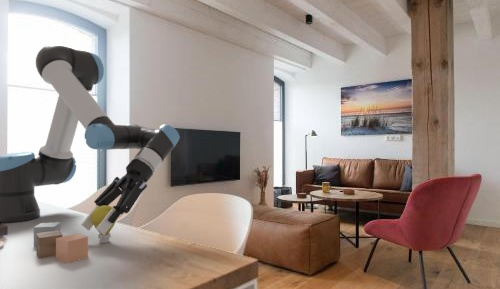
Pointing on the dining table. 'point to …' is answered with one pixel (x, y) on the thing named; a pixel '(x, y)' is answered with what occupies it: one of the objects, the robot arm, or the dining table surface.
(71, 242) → the terracotta block
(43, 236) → the walnut block
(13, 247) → the dining table surface
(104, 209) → the light bulb
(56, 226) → the slate grey block
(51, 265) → the dining table surface
